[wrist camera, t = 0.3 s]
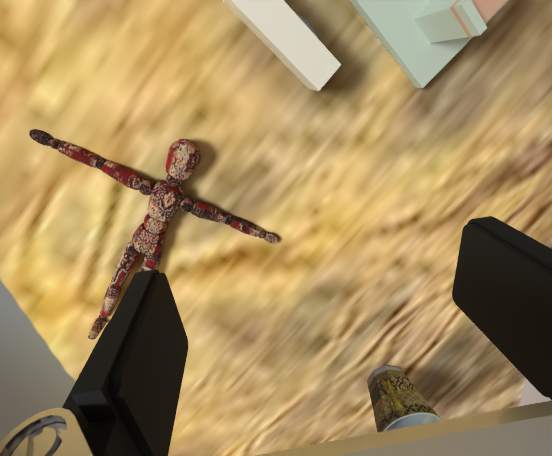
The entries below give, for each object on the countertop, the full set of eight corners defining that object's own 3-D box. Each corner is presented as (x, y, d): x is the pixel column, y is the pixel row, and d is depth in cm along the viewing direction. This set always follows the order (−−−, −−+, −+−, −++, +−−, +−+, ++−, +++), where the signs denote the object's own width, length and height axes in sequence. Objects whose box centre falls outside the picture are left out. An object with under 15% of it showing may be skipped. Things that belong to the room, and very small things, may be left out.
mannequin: (-50, 192, 36) (-85, 207, 32) (146, 46, 31) (133, 42, 27) (118, 330, 47) (108, 353, 43) (279, 237, 43) (283, 253, 39)
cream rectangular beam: (166, -57, 28) (152, -82, 23) (188, -95, 27) (178, -129, 22) (308, 88, 34) (319, 91, 30) (330, 62, 33) (345, 60, 29)
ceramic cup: (416, 382, 59) (448, 436, 50) (368, 402, 60) (391, 459, 51) (397, 340, 53) (429, 393, 45) (344, 363, 55) (365, 419, 46)
